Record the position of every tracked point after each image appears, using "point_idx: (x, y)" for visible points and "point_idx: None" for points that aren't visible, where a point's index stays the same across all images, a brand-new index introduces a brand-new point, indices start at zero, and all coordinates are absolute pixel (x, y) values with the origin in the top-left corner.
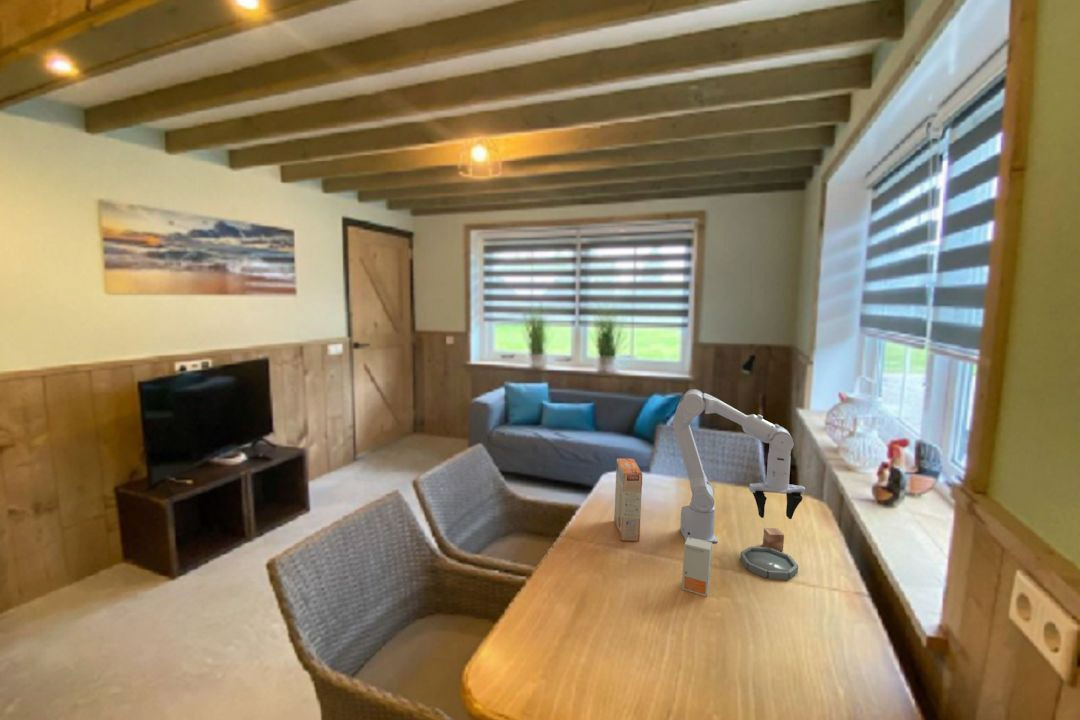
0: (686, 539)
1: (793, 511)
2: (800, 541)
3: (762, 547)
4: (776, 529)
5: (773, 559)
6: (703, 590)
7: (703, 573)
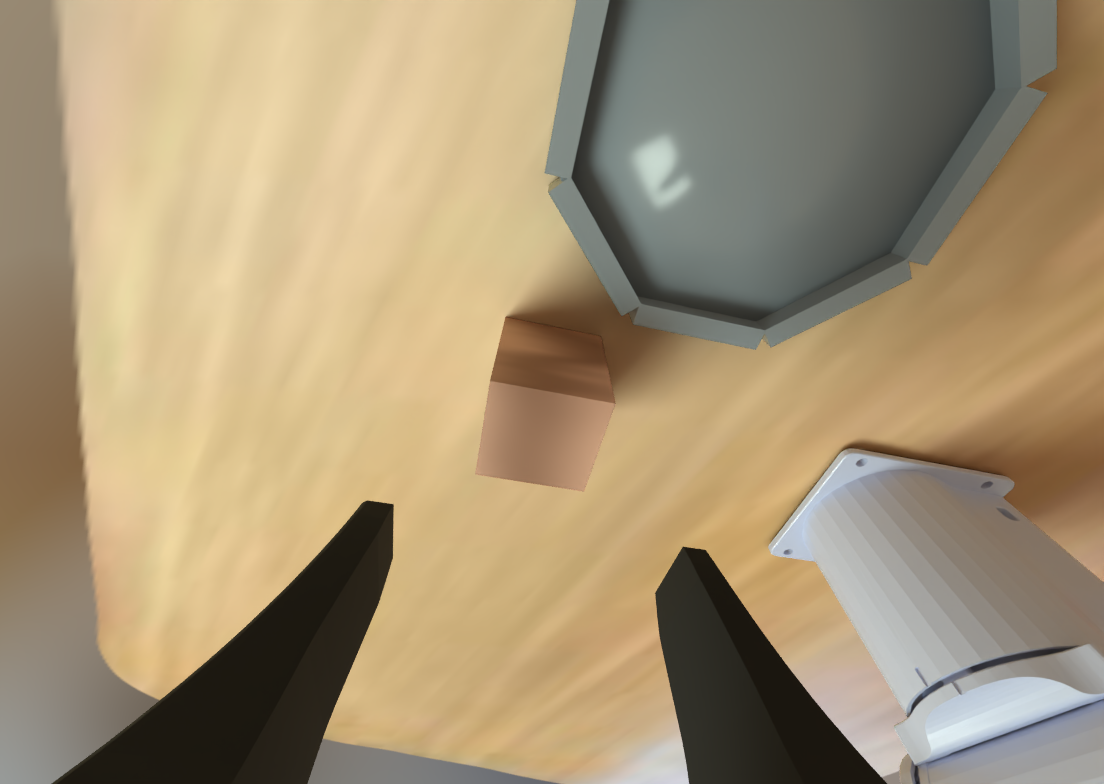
0: None
1: (301, 590)
2: (321, 415)
3: (681, 327)
4: (499, 463)
5: (697, 171)
6: None
7: None
